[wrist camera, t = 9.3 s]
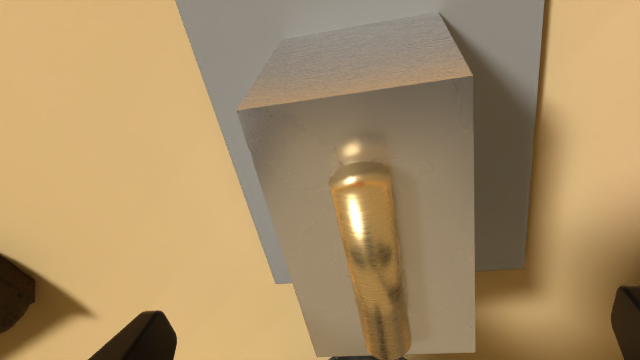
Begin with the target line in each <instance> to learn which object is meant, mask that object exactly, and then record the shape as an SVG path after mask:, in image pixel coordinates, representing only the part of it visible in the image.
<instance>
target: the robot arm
mask: <svg viewBox="0 0 640 360" xmlns="http://www.w3.org/2000/svg"><path fill="white" fill-rule="evenodd" d="M611 324H612V328H613V331H614V333H615V336H616V339H617V341H618V344H619V347H620V349H621V352H622V355H623V357H624V360H640V284H636V285H622V286H620V287H619V288H618V290H617V292H616V296H615V301H614V305H613V309H612V313H611ZM176 345H177V337H176V333H175V331H174V330H173V328H172V326H171V324H170V323H169V321H168V319H167V318H166V316H165V314H164V313H163V312H162V311H145V312H142V313H141V314H139V315H138V316H137V317H136V318H135V319H134V320H132V321H131V322H130V323H129V324H128V325H127V326H126V327H124V328H123V329H122V330H121V331H120V332H119V333H118V334H117V335H115V336H114V337H113V338H112V339H111V340H110V341H109V342H108V343H106V344H105V345H104V346H103V347H102V348H101V349H100V350H99V351H97V352H96V353H95V354H94V355H93V356H92V357H91V358H89V359H88V360H173V359H174V354H175V350H176Z"/></svg>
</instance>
